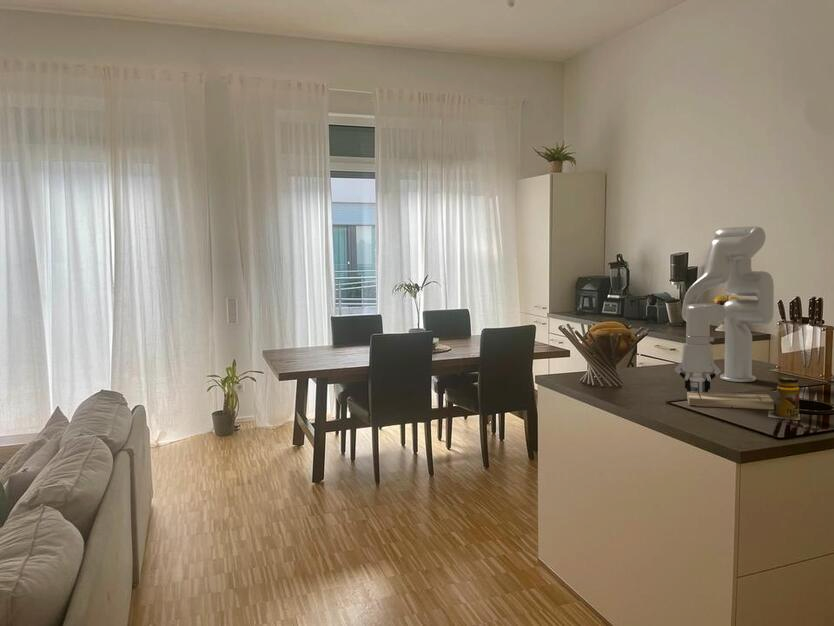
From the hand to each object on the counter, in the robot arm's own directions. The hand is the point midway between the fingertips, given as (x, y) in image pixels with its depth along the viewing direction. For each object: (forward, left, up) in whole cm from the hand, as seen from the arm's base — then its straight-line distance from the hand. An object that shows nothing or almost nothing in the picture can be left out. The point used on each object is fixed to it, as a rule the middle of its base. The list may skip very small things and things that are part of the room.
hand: (697, 390), depth 223 cm
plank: (+9, +9, -2) cm, 13 cm away
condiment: (+22, +23, -2) cm, 32 cm away
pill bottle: (0, 0, -2) cm, 2 cm away
